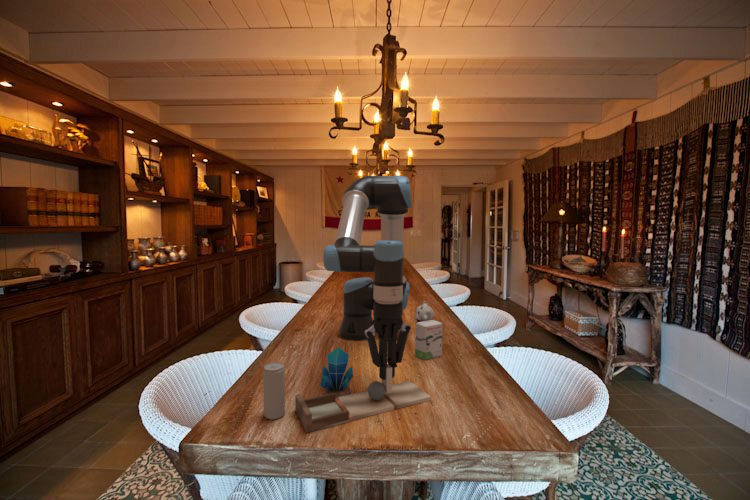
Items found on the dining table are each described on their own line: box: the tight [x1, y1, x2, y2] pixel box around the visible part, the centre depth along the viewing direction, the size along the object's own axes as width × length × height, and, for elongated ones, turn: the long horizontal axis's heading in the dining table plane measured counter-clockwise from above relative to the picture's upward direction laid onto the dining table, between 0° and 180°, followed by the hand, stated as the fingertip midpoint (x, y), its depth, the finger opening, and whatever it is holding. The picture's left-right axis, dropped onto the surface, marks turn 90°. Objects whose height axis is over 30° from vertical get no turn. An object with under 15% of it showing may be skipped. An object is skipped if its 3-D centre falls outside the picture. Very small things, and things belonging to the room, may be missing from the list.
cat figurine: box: [414, 300, 435, 322], centre depth 166 cm, size 10×8×15 cm
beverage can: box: [262, 362, 286, 421], centre depth 83 cm, size 5×5×12 cm
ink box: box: [414, 319, 443, 361], centre depth 122 cm, size 9×5×12 cm, turn 123°
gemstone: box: [319, 346, 354, 398], centre depth 94 cm, size 7×9×12 cm
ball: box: [367, 380, 385, 400], centre depth 89 cm, size 4×4×4 cm
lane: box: [294, 380, 432, 434], centre depth 88 cm, size 10×33×4 cm, turn 117°
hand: (386, 390), depth 91 cm, fingers closed
